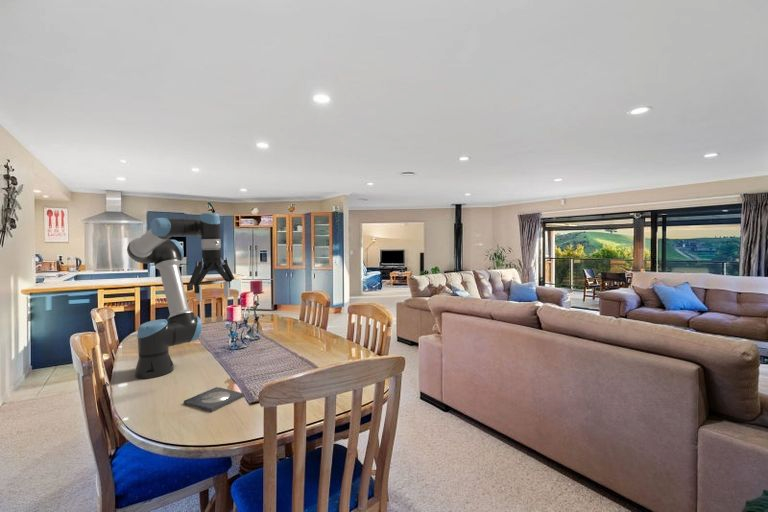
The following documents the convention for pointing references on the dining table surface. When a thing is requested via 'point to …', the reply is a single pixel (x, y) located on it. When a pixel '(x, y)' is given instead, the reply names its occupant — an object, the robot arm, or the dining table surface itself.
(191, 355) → the dining table surface
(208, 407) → the motor plate
